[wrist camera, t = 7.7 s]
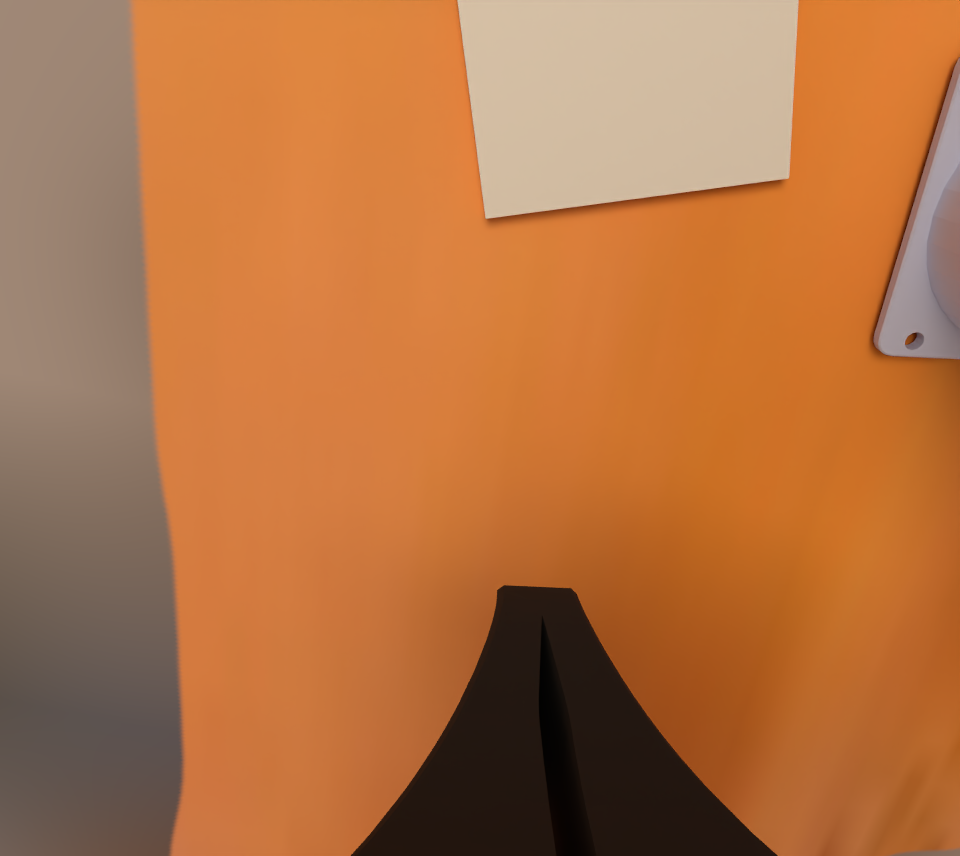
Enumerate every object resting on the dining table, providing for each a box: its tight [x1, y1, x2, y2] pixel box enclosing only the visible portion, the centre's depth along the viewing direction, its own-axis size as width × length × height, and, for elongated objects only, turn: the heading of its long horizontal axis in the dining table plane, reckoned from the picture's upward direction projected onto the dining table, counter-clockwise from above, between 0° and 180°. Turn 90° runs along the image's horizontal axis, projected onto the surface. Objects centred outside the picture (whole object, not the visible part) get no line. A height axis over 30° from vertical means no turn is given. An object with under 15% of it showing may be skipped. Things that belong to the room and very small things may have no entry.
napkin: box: [458, 0, 798, 219], centre depth 18 cm, size 8×6×1 cm
